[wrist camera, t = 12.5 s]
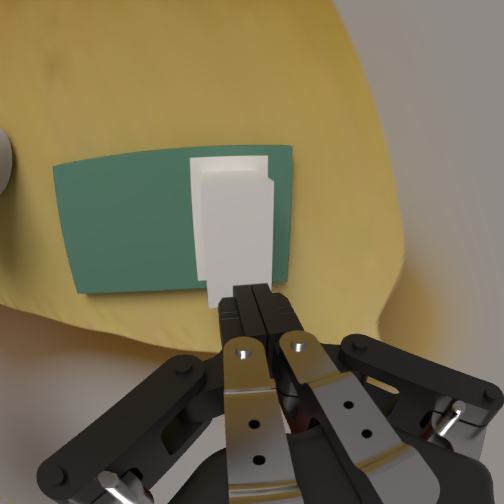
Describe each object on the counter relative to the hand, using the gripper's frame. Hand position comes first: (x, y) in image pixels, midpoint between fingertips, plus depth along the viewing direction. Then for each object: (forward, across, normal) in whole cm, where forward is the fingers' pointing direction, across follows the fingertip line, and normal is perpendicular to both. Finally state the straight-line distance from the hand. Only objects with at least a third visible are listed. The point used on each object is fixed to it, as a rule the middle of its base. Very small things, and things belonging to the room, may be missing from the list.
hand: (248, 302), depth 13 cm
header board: (+13, +5, 0) cm, 14 cm away
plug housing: (+12, 0, 0) cm, 12 cm away
